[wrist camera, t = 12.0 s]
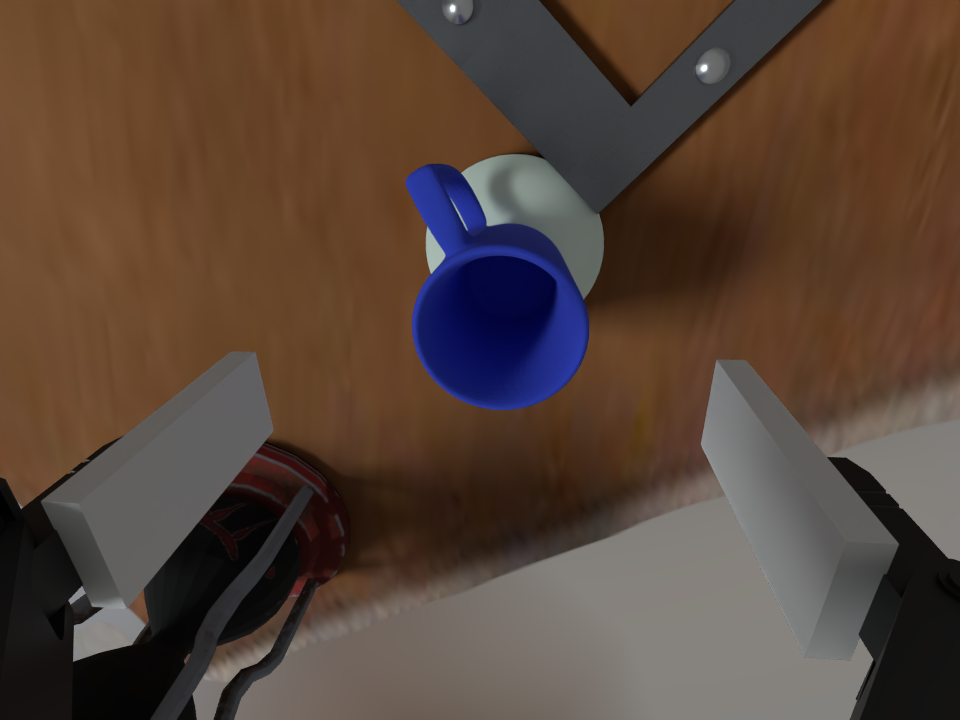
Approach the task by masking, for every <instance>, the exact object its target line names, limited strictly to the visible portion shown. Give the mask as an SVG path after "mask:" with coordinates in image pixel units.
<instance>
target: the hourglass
mask: <svg viewBox="0 0 960 720" xmlns="http://www.w3.org/2000/svg"><path fill="white" fill-rule="evenodd" d="M349 543H350V528H349V518H348V516H347V513H346V511H345V508H344V506H343V503H342V501H341V499H340V496H339V495H338V494H337V493H336V491H335V490H334V489H333V488H332V487H331V485H330V484H329V483H328V482H327V481H326V479H325V478H324V477H323V476H322V474H320V473H319V472H318V471H316V470H315V469H313V468H312V467H311V466H309V465H308V464H307V463H305V462H304V461H302V460H301V459H300V458H298V457H297V456H295V455H293V454H290V453H288V452H286V451H283V450H281V449H278V448H276V447H273V446H271V445H269V444H266V443H263V444H262V446H261V447H260V448H259V449H258V450H257V452H256V453H255V454H254V455H253V456H252V458H251V459H250V460H249V461H248V463H247V464H246V465H245V466H244V467H243V469H242V470H241V471H240V472H239V473H238V475H237V476H236V477H235V478H234V480H233V481H232V482H231V483H230V484H229V486H228V487H227V488H226V489H225V490H224V492H223V493H222V494H221V495H220V497H219V498H218V499H217V500H216V501H215V503H214V504H213V505H212V506H211V507H210V509H209V510H208V511H207V512H206V514H205V515H204V516H203V517H202V518H201V520H200V521H199V522H198V523H197V524H196V526H195V527H194V528H193V529H192V531H191V532H190V533H189V534H188V535H187V537H186V538H185V539H184V540H183V541H182V543H181V544H180V545H179V546H178V548H177V549H176V550H175V551H174V552H173V554H172V555H171V556H170V557H169V558H168V560H167V561H166V562H165V563H164V565H163V566H162V567H161V568H160V569H159V571H158V572H157V573H156V574H155V575H154V577H153V578H152V579H151V580H150V582H149V583H148V584H147V585H146V586H145V588H144V596H145V603H146V608H147V613H148V618H149V622H148V623H147V625H146V626H145V627H144V629H143V630H142V631H141V632H140V634H139V635H138V637H137V638H136V640H135V641H134V643H133V644H132V645H130V646H126V647H122V648H118V649H113V650H109V651H105V652H101V653H98V654H95V655H92V656H89V657H86V658H83V659H80V660H77V661H74V662H73V682H72V720H197V718H196V710H195V704H194V700H193V695H192V693H193V692H194V690H195V689H196V687H197V685H198V684H199V682H200V680H201V679H202V677H203V676H204V674H205V672H206V670H207V668H208V666H209V664H210V662H211V660H212V657H213V655H214V653H215V651H216V647H217V646H220V645H223V644H226V643H229V642H231V641H234V640H236V639H239V638H241V637H244V636H246V635H249V634H251V633H252V632H254V631H255V630H257V629H258V628H259V627H261V626H262V625H264V624H265V623H266V622H267V621H268V620H270V619H271V618H272V617H273V616H274V615H275V614H276V613H277V612H278V610H279V609H280V608H281V606H282V605H283V604H284V602H285V601H286V600H287V598H288V597H295V596H298V598H297V600H296V602H295V604H294V606H293V608H292V610H291V612H290V614H289V616H288V618H287V620H286V622H285V624H284V626H283V628H282V630H281V632H280V634H279V636H278V638H277V640H276V642H275V644H274V646H273V648H272V650H271V652H270V653H268V654H267V655H266V656H265V657H264V658H263V659H262V660H261V661H260V662H258V663H257V664H255V665H252V666H249V667H247V668H244V669H241V670H240V671H239V672H238V674H237V675H236V676H235V677H234V678H233V679H232V680H231V681H230V683H229V684H228V685H227V686H226V687H225V688H224V690H223V691H222V694H221V697H220V700H219V703H218V707H217V710H216V714H215V717H214V720H234V717H235V714H236V712H237V708H238V705H239V703H240V700H241V698H242V696H243V695H244V694H245V692H246V691H247V690H248V688H249V687H250V686H251V684H252V683H253V682H254V681H256V680H258V679H261V678H263V677H265V676H267V675H269V674H270V673H271V672H272V671H273V670H274V669H275V668H276V667H277V666H278V665H279V664H280V663H281V661H282V660H283V658H284V656H285V654H286V652H287V649H288V647H289V645H290V643H291V641H292V639H293V637H294V635H295V633H296V630H297V628H298V626H299V624H300V622H301V620H302V618H303V616H304V614H305V611H306V609H307V607H308V605H309V603H310V601H311V599H312V597H313V594H314V592H315V590H316V589H319V588H321V587H322V586H323V585H324V584H325V583H326V582H327V581H329V580H330V579H331V578H332V577H333V576H334V575H335V574H336V573H337V571H338V568H339V566H340V564H341V562H342V559H343V557H344V555H345V552H346V550H347V548H348V546H349ZM71 607H72V609H73V612H74V625H76V624H81V623H83V622H84V621H85V620H87V619H88V618H90V617H91V616H93V615H94V614H95V613H97V612H98V611H100V610H101V609H102V608H104V607H92V605H91V603H90V601H89V599H88V597H87V595H86V594H85V595H83V596H82V597H80V598H79V599H78V600H76V601H75V602H74V603H73V604H71ZM188 654H191V655H190V657H189V659H188V661H187V663H186V665H185V663H184V659H185V658H186V656H187V655H188Z"/></svg>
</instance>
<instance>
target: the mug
mask: <svg viewBox="0 0 960 720" xmlns="http://www.w3.org/2000/svg"><path fill="white" fill-rule="evenodd" d="M406 186H407V189H408V191H409V193H410V195H411V197H412V199H413V201H414V203H415V205H416V207H417V208H418V210H419V212H420V214H421V216H422V217H423V219H424V221H425V223H426V225H427V226H428V228H429V230H430V231H431V233H432V235H433V236H434V238H435V239H436V241H437V243H438V244H439V245H440V247H441V248H442V250H443V251H444V253H445V258H444V260H443V261H442V262H441V264H440V265H439V266H438V267H437V268H436V269H435V270H434V271H433V273H432V274H431V275H430V276H429V277H428V279H427V280H426V282H425V283H424V285H423V287H422V288H421V290H420V292H419V295H418V297H417V300H416V303H415V306H414V312H413V319H412V330H413V338H414V343H415V347H416V350H417V353H418V356H419V358H420V360H421V362H422V364H423V366H424V367H425V369H426V370H427V372H428V373H429V375H430V376H431V377H432V378H433V379H434V380H435V381H436V382H437V383H438V384H439V385H440V386H441V387H442V388H443V389H444V390H446V391H447V392H448V393H450V394H451V395H453V396H454V397H456V398H458V399H460V400H462V401H464V402H466V403H469V404H471V405H475V406H478V407H482V408H487V409H495V410H511V409H519V408H524V407H528V406H531V405H534V404H537V403H539V402H541V401H544V400H546V399H547V398H549V397H551V396H552V395H554V394H555V393H557V392H558V391H559V390H560V389H562V388H563V387H564V386H565V385H566V384H567V383H568V382H569V381H570V380H571V378H572V377H573V376H574V374H575V373H576V371H577V370H578V368H579V367H580V365H581V363H582V361H583V358H584V356H585V352H586V349H587V345H588V340H589V318H588V312H587V308H586V305H585V302H584V299H583V297H582V295H581V293H580V291H579V289H578V287H577V285H576V283H575V281H574V279H573V277H572V275H571V273H570V271H569V269H568V267H567V265H566V263H565V261H564V259H563V257H562V255H561V253H560V251H559V250H558V248H557V247H556V246H555V244H554V243H553V242H552V241H551V240H550V239H549V238H548V237H547V236H545V235H544V234H543V233H541V232H540V231H538V230H536V229H534V228H531V227H529V226H526V225H521V224H514V223H506V224H498V225H492V226H487V221H486V217H485V214H484V212H483V209H482V207H481V205H480V203H479V201H478V199H477V197H476V195H475V193H474V191H473V189H472V188H471V186H470V185H469V183H468V181H467V180H466V179H465V177H464V176H463V175H462V174H461V173H460V172H459V171H458V170H457V169H455V168H454V167H452V166H449V165H445V164H428V165H425V166H423V167H421V168H418V169H417V170H415V171H414V172H412V173H411V174H410V175H409V176H408V177H407V179H406ZM450 198H451V199H450ZM451 200H452V201H453V203H454V204H455V206H456V208H457V209H458V211H459V213H460V215H461V217H462V219H463V221H464V223H465V225H466V227H467V230H466V228H465V226H464V224H463V222H462V220H461V219H460V217H459V215H458V213H457V211H456V209H455V207H454V205H453V203H452V201H451Z"/></svg>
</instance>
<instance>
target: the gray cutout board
mask: <svg viewBox="0 0 960 720" xmlns="http://www.w3.org/2000/svg"><path fill="white" fill-rule="evenodd" d="M397 1H398V2H399V3H400V4H401V6H402V7H403V8H404V9H405V10H406V11H407V12H408V13H409V14H410V15H411V16H412V17H413V18H414V19H415V20H416V22H417V23H418V24H419V25H420V26H421V27H422V28H423V29H424V30H425V31H426V32H427V33H428V34H429V35H430V36H431V38H432V39H433V40H434V41H435V42H436V43H437V44H438V45H439V46H440V47H441V48H442V49H443V50H444V51H445V52H446V54H447V55H448V56H449V57H450V58H451V59H452V60H453V61H454V62H455V63H456V64H457V65H458V66H459V67H460V69H461V70H462V71H463V72H464V73H465V74H466V75H467V76H468V77H469V78H470V79H471V80H472V81H473V82H474V83H475V85H476V86H477V87H478V88H479V89H480V90H481V91H482V92H483V93H484V94H485V95H486V96H487V97H488V98H489V99H490V101H491V102H492V103H493V104H494V105H495V106H496V107H497V108H498V109H499V110H500V111H501V112H502V113H503V114H504V115H505V117H506V118H507V119H508V120H509V121H510V122H511V123H512V124H513V125H514V126H515V127H516V128H517V129H518V130H519V131H520V133H521V134H522V135H523V136H524V137H525V138H526V139H527V140H528V141H529V142H530V143H531V144H532V145H533V146H534V147H535V149H536V150H537V151H538V152H539V153H540V154H541V155H542V156H543V157H544V158H545V159H546V160H547V161H548V162H549V163H550V165H551V166H552V167H553V168H554V169H555V170H556V171H557V172H558V173H559V174H560V175H561V176H562V177H563V178H564V179H565V181H566V182H567V183H568V184H569V185H570V186H571V187H572V188H573V189H574V190H575V191H576V192H577V193H578V194H579V195H580V197H581V198H582V199H583V200H584V201H585V202H586V203H587V204H588V205H589V206H590V207H591V208H592V209H593V210H594V211H595V213H596V214H598V213H599V212H600V211H602V210H603V209H604V208H605V207H606V206H607V205H608V204H609V203H610V202H611V201H612V200H613V199H614V198H615V197H616V196H617V195H618V194H619V193H620V192H621V191H623V190H624V189H625V188H626V187H627V186H628V185H629V184H630V183H631V182H632V181H633V180H634V179H635V178H636V177H637V176H638V175H639V174H640V173H641V172H643V171H644V170H645V169H646V168H647V167H648V166H649V165H650V164H651V163H652V162H653V161H654V160H655V159H656V158H657V157H658V156H659V155H660V154H661V153H662V152H664V151H665V150H666V149H667V148H668V147H669V146H670V145H671V144H672V143H673V142H674V141H675V140H676V139H677V138H678V137H679V136H680V135H681V134H682V133H683V132H685V131H686V130H687V129H688V128H689V127H690V126H691V125H692V124H693V123H694V122H695V121H696V120H697V119H698V118H699V117H700V116H701V115H702V114H703V113H704V112H706V111H707V110H708V109H709V108H710V107H711V106H712V105H713V104H714V103H715V102H716V101H717V100H718V99H719V98H720V97H721V96H722V95H723V94H724V93H726V92H727V91H728V90H729V89H730V88H731V87H732V86H733V85H734V84H735V83H736V82H737V81H738V80H739V79H740V78H741V77H742V76H743V75H744V74H745V73H747V72H748V71H749V70H750V69H751V68H752V67H753V66H754V65H755V64H756V63H757V62H758V61H759V60H760V59H761V58H762V57H763V56H764V55H765V54H766V53H768V52H769V51H770V50H771V49H772V48H773V47H774V46H775V45H776V44H777V43H778V42H779V41H780V40H781V39H782V38H783V37H784V36H785V35H786V34H788V33H789V32H790V31H791V30H792V29H793V28H794V27H795V26H796V25H797V24H798V23H799V22H800V21H801V20H802V19H803V18H804V17H805V16H806V15H807V14H809V13H810V12H811V11H812V10H813V9H814V8H815V7H816V6H817V5H818V4H819V3H820V2H821V1H822V0H733V1H732V2H731V3H730V4H729V5H728V6H727V7H726V8H725V9H724V10H723V11H722V12H721V13H720V14H719V15H718V16H717V17H716V18H715V19H714V20H713V21H712V22H711V23H710V24H709V25H708V26H707V27H706V28H705V29H704V30H703V31H702V32H701V33H700V35H699V36H698V37H697V38H696V39H695V40H694V41H693V42H692V43H691V44H690V45H689V46H688V47H687V48H686V49H685V50H684V51H683V52H682V53H681V54H680V55H679V56H678V57H677V58H676V59H675V60H674V61H673V62H672V63H671V64H670V65H669V66H668V67H667V68H666V69H665V70H664V71H663V72H662V73H661V74H660V75H659V76H658V77H657V78H656V79H655V81H654V82H653V83H652V84H651V85H650V86H649V87H648V88H647V89H646V90H645V91H644V92H643V93H642V94H641V95H640V96H639V97H638V98H637V99H636V100H635V101H634V102H633V103H632V104H631V105H629V104H628V103H627V102H626V101H625V99H624V98H623V97H622V96H621V95H620V94H619V92H618V91H617V90H616V89H615V88H614V87H613V86H612V84H611V83H610V82H609V81H608V80H607V79H606V77H605V76H604V75H603V74H602V73H601V72H600V70H599V69H598V68H597V67H596V66H595V65H594V63H593V62H592V61H591V60H590V59H589V58H588V57H587V55H586V54H585V53H584V52H583V51H582V50H581V48H580V47H579V46H578V45H577V44H576V43H575V41H574V40H573V39H572V38H571V37H570V36H569V34H568V33H567V32H566V31H565V30H564V29H563V28H562V26H561V25H560V24H559V23H558V22H557V21H556V19H555V18H554V17H553V16H552V15H551V14H550V12H549V11H548V10H547V9H546V8H545V7H544V5H543V4H542V3H541V2H540V1H539V0H397Z"/></svg>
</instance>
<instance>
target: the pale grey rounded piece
mask: <svg viewBox="0 0 960 720" xmlns="http://www.w3.org/2000/svg"><path fill="white" fill-rule="evenodd" d="M461 174H462V175H463V176H464V177H465V179H466V180H467V181H468V183H469V185H470V186H471V188H472V189H473V191H474V193H475V195H476V197H477V199H478V201H479V203H480V205H481V207H482V209H483V212H484V214H485V217H486V221H487V226H492V225H498V224H506V223H514V224H521V225H526V226H529V227H531V228H534V229H536V230H538V231H540V232H541V233H543V234H544V235H545V236H547V237H548V238H549V239H550V240H551V241H552V242H553V243H554V244H555V246H556V247H557V248H558V250H559V251H560V253H561V255H562V257H563V259H564V261H565V263H566V265H567V267H568V269H569V271H570V273H571V275H572V277H573V279H574V281H575V283H576V285H577V287H578V289H579V291H580V293H581V295H582V297H583V299H584V298H585V297H586V296H587V295H588V293H589V292H590V290H591V288H592V287H593V285H594V283H595V281H596V279H597V276H598V274H599V271H600V267H601V264H602V259H603V252H604V234H603V227H602V223H601V219H600V215H599V213H598V214H596V213H595V211H594V210H593V209H592V208H591V207H590V206H589V205H588V204H587V203H586V202H585V201H584V200H583V199H582V198H581V197H580V195H579V194H578V193H577V192H576V191H575V190H574V189H573V188H572V187H571V186H570V185H569V184H568V183H567V182H566V181H565V179H564V178H563V177H562V176H561V175H560V174H559V173H558V172H557V171H556V170H555V169H554V168H553V167H552V166H551V165H550V163H549V162H548V161H547V160H546V159H544V158H541V157H538V156H533V155H527V154H505V155H499V156H495V157H490V158H488V159H485V160H482V161H480V162H478V163H476V164H474V165H472V166H471V167H469V168H467V169H466V170H465V171H463V172H462V173H461ZM450 199H451V198H450ZM451 201H452V200H451ZM452 203H453V201H452ZM453 205H454V207H455V209H456V211H457V213H458V215H459V217H460V219H461V220H462V222H463V224H464V226H465V228H466V230H467V227H466V225H465V223H464V221H463V219H462V217H461V215H460V213H459V211H458V209H457V208H456V206H455V204H454V203H453ZM426 253H427V260H428V265H429V268H430V272H431V274H432V273H433V271H434V270H435V269H436V268H437V267H438V266H439V265H440V264H441V262H442V261H443V260H444V258H445V253H444V251H443V250H442V248H441V247H440V245H439V244H438V243H437V241H436V239H435V238H434V236H433V235H432V233H431V231H430V230H429V228H428V227H427V235H426Z"/></svg>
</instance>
